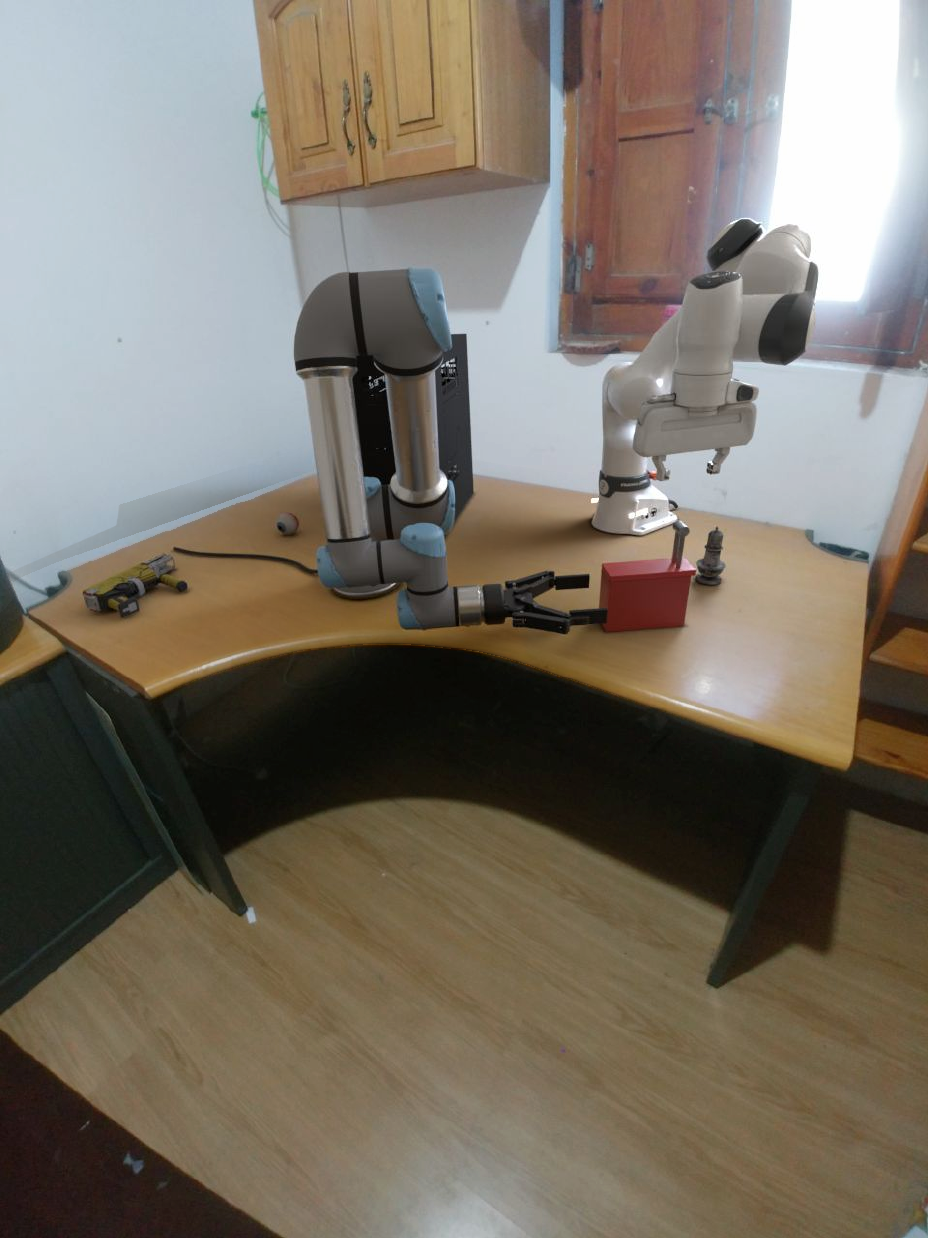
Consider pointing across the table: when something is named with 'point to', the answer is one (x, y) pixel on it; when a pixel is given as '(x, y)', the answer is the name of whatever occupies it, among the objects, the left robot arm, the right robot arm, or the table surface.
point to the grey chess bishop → (711, 560)
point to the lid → (654, 563)
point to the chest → (644, 602)
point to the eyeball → (287, 523)
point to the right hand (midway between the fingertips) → (687, 476)
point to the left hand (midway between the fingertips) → (597, 597)
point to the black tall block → (449, 421)
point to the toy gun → (131, 586)
